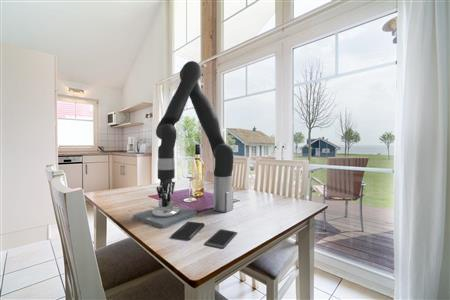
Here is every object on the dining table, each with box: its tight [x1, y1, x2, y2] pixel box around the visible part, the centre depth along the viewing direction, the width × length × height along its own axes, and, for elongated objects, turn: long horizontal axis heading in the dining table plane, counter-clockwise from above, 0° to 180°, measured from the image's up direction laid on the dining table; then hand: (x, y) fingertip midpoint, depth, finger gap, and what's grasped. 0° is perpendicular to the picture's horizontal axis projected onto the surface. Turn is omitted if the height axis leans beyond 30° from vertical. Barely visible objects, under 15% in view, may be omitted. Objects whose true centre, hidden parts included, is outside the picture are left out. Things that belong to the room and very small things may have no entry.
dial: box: [149, 199, 179, 218], centre depth 101 cm, size 16×12×6 cm
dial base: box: [132, 205, 198, 229], centre depth 100 cm, size 20×20×2 cm
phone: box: [170, 221, 206, 242], centre depth 84 cm, size 8×1×15 cm
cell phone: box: [203, 228, 238, 250], centre depth 78 cm, size 7×14×1 cm, turn 157°
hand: (166, 205), depth 100 cm, fingers closed on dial, 2 cm apart
